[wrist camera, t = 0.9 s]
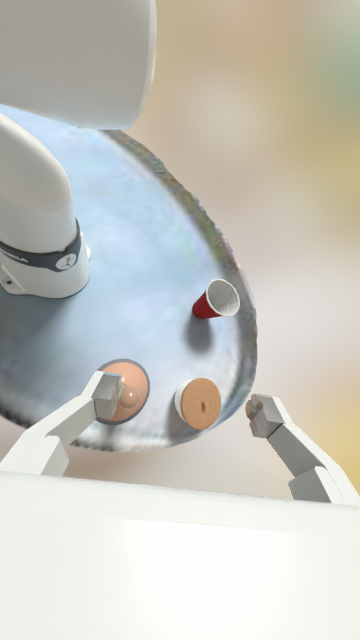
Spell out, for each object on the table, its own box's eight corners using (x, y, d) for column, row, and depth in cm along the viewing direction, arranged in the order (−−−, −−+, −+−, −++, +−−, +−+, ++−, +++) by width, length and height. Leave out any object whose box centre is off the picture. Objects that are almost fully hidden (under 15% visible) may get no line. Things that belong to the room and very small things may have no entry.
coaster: (69, 396, 32) (69, 396, 32) (121, 347, 39) (121, 346, 39) (119, 437, 35) (119, 438, 34) (160, 384, 41) (160, 384, 41)
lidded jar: (207, 408, 46) (231, 417, 38) (174, 428, 40) (194, 443, 32) (196, 370, 47) (217, 371, 39) (163, 384, 42) (179, 389, 34)
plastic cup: (193, 288, 54) (216, 269, 44) (216, 307, 57) (243, 294, 46) (179, 313, 49) (201, 299, 39) (205, 332, 52) (233, 324, 42)
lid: (76, 395, 33) (67, 410, 22) (121, 351, 39) (131, 346, 28) (119, 432, 35) (130, 461, 24) (156, 384, 40) (178, 391, 30)
